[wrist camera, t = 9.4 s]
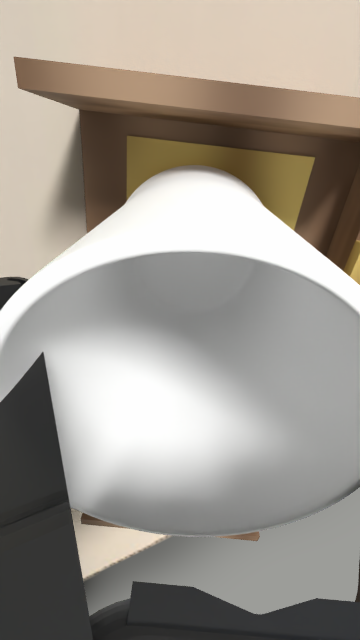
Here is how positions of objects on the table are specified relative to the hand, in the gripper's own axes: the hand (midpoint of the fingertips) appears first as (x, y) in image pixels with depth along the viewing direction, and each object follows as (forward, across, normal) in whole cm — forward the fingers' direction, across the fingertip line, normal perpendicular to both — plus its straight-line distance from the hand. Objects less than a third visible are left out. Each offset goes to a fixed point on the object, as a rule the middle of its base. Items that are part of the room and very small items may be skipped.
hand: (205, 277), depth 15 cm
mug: (+1, 0, 0) cm, 1 cm away
